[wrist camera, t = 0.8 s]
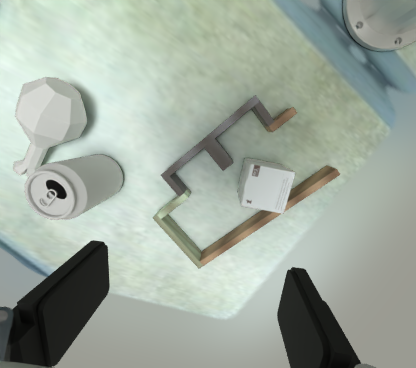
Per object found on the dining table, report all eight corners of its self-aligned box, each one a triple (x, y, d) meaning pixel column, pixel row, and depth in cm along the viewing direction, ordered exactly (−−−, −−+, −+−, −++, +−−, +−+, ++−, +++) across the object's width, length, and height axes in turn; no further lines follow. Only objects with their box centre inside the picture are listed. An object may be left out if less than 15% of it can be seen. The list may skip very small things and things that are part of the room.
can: (134, 175, 35) (90, 197, 24) (108, 203, 37) (55, 237, 25) (100, 144, 34) (37, 151, 23) (76, 174, 36) (6, 195, 24)
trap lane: (269, 84, 30) (274, 79, 27) (329, 170, 32) (340, 174, 30) (141, 192, 36) (133, 197, 33) (200, 258, 38) (198, 268, 35)
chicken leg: (14, 149, 37) (-22, 176, 30) (46, 61, 29) (6, 72, 23) (64, 172, 41) (41, 200, 34) (103, 99, 33) (84, 118, 27)
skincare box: (272, 198, 34) (284, 215, 27) (236, 191, 35) (239, 207, 27) (281, 163, 33) (297, 171, 26) (244, 156, 33) (249, 163, 26)
